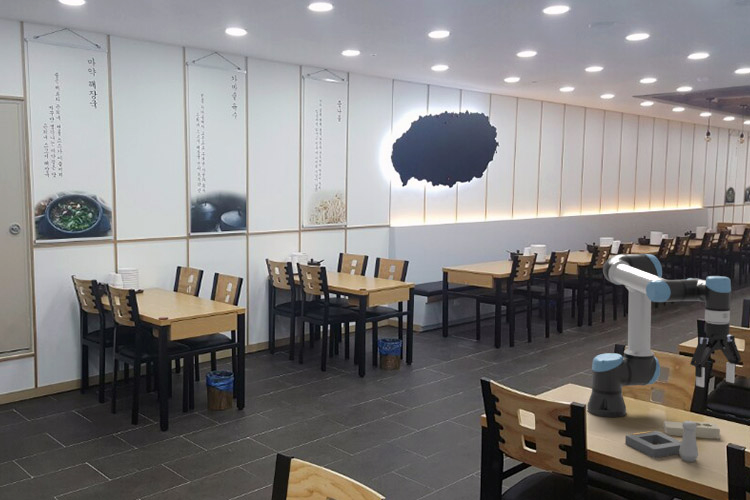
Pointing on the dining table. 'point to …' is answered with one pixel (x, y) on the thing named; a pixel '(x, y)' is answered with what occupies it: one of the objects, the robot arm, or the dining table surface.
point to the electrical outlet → (701, 431)
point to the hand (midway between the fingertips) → (715, 384)
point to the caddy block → (646, 438)
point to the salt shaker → (689, 442)
